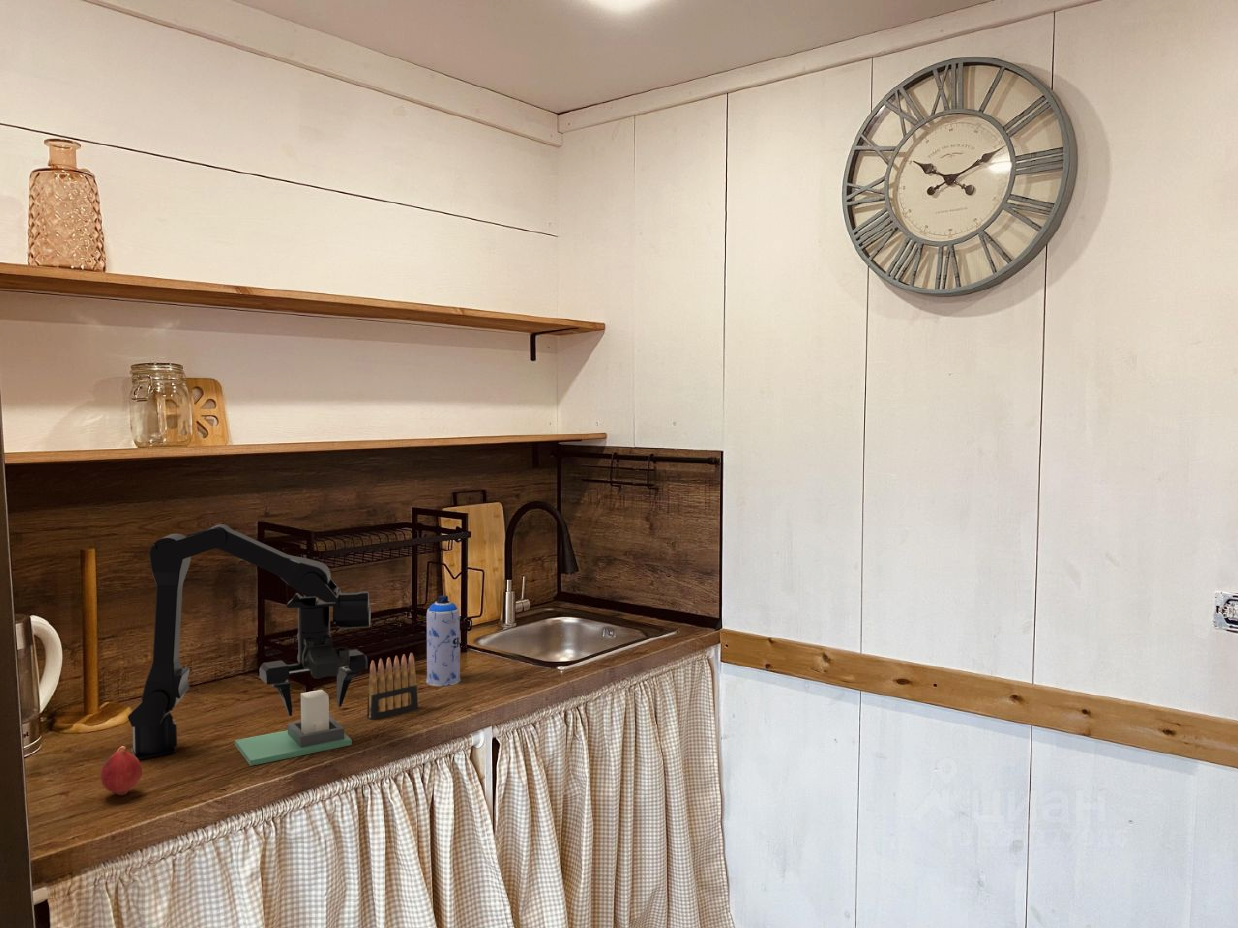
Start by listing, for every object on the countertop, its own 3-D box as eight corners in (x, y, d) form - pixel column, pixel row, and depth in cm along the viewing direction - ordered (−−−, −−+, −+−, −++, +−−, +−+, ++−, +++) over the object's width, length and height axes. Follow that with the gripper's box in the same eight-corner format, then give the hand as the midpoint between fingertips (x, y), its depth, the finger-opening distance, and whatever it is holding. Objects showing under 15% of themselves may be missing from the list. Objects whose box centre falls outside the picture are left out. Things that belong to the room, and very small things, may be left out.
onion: (103, 805, 141) (102, 756, 141) (99, 793, 146) (97, 745, 145) (144, 796, 145) (143, 748, 144) (139, 784, 149) (138, 737, 149)
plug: (308, 742, 166) (308, 699, 166) (297, 730, 172) (296, 689, 172) (330, 737, 169) (329, 696, 168) (318, 726, 175) (317, 686, 174)
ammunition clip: (413, 706, 190) (413, 650, 190) (418, 708, 189) (417, 652, 188) (366, 717, 183) (366, 659, 182) (371, 720, 182) (370, 661, 181)
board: (250, 765, 158) (250, 749, 157) (235, 745, 167) (234, 729, 167) (351, 744, 168) (351, 729, 168) (331, 726, 178) (331, 711, 178)
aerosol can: (454, 686, 204) (454, 600, 203) (421, 685, 205) (421, 599, 204) (464, 676, 212) (464, 593, 211) (432, 675, 213) (432, 592, 212)
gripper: (273, 645, 157) (275, 733, 158) (377, 631, 168) (378, 713, 168) (258, 632, 166) (259, 715, 167) (357, 620, 177) (358, 698, 177)
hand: (315, 710), depth 170 cm, fingers open, 9 cm apart
